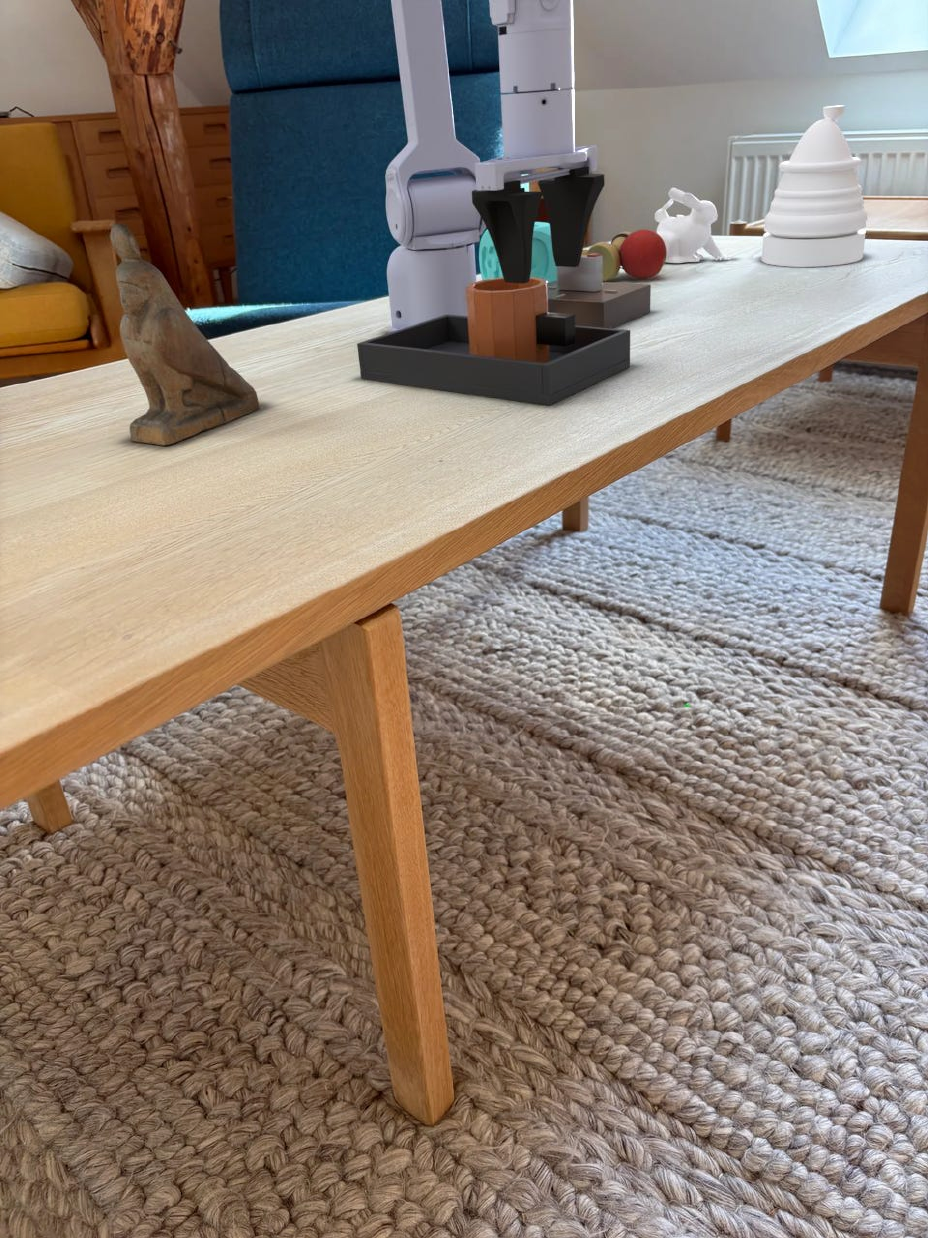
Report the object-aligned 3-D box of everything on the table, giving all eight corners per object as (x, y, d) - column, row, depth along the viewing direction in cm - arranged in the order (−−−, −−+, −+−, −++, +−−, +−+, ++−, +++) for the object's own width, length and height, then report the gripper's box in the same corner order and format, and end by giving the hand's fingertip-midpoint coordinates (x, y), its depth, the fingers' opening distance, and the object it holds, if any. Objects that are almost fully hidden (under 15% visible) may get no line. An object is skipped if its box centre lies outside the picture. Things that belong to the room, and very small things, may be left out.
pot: (456, 369, 88) (450, 289, 85) (501, 351, 93) (498, 275, 90) (548, 381, 83) (546, 295, 79) (592, 361, 87) (591, 280, 84)
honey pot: (797, 248, 139) (809, 105, 130) (882, 254, 130) (900, 101, 121) (741, 262, 132) (750, 112, 124) (827, 269, 123) (842, 108, 115)
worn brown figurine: (176, 475, 79) (82, 252, 68) (132, 465, 82) (35, 249, 70) (273, 405, 86) (202, 192, 74) (229, 398, 88) (155, 192, 77)
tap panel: (510, 323, 109) (508, 294, 107) (559, 305, 115) (558, 277, 114) (603, 331, 102) (603, 300, 100) (650, 312, 108) (651, 282, 107)
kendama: (531, 289, 133) (646, 275, 121) (529, 239, 131) (646, 221, 120) (564, 289, 138) (678, 277, 127) (562, 241, 137) (677, 224, 125)
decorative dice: (537, 285, 128) (534, 219, 124) (563, 293, 122) (562, 225, 118) (480, 293, 126) (476, 226, 122) (504, 302, 119) (500, 232, 116)
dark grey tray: (360, 378, 92) (356, 343, 90) (448, 346, 101) (446, 314, 99) (549, 405, 80) (548, 364, 78) (630, 366, 89) (630, 329, 87)
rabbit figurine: (734, 259, 135) (738, 182, 130) (707, 268, 130) (711, 189, 125) (657, 255, 142) (659, 183, 138) (630, 264, 137) (630, 189, 133)
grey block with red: (557, 289, 108) (556, 253, 106) (564, 287, 109) (563, 251, 107) (596, 291, 105) (595, 255, 103) (602, 289, 106) (602, 253, 104)
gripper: (526, 93, 69) (533, 292, 76) (629, 83, 79) (627, 260, 85) (448, 99, 73) (461, 287, 80) (555, 89, 83) (559, 258, 89)
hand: (542, 273), depth 83 cm, fingers open, 7 cm apart
